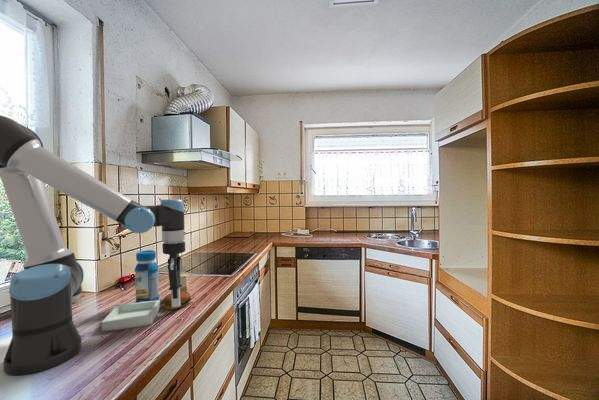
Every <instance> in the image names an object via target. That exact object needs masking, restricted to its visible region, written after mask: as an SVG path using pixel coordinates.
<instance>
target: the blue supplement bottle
mask: <svg viewBox="0 0 599 400" xmlns="http://www.w3.org/2000/svg"><path fill="white" fill-rule="evenodd" d="M135 256H136V257H135V260H136V262H137V264H136V265H135V268H134V272H135V275H134V283H135V303H138V302H147V301H155V300H160V294H159V293H160V291H159V290H160V288H159V287H160V286H159V276H160V272H159V271H158V270H159V265H158V263H157V262H156V261H155V260H156V259H157V252H156V250H154V249H149V250H141V251H138V252H136V253H135Z"/></svg>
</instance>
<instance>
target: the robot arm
mask: <svg viewBox="0 0 599 400" xmlns="http://www.w3.org/2000/svg"><path fill="white" fill-rule="evenodd" d="M0 180H1V183H2V185H3V186H2V187H3V188H4V191H5V194H6V197H7V200H8V203H9V206H10V209H11V212H12V214H13V217H14V221H15V223H16V226H17V229H18V232H19V235H20V238H21V240H22V244H23V246H24V250H25V252H26V255H27V259H26V261H25V262H24V263H23V265H22V266H23V269H22V270H20V271H18V272H17V273H15V274H14V275H13V276H12V277H11V278H10V282H9V288H8V293H9V296H10V297H9V298H10V299H9V300H10V315H11V316H10V317H11V329H12V331H11V332H12V334H11V335H12V337H11V340H10V342H9V345H8V348H7V351H6V354H5V356H4V359H3V363H2V364H3V373H5V374H6V375H8V376H9V375H10V376H24V375H29V374H34V373H38V372H41V371H44V370H45V371H46V370H48V369H51V368H54V367H56V366H58V365H61V364H62V363H64V362H67V361H68V360H70V359H72V358H73V357H74V356H77V354H78V353H79V352H81V350H82V346H83V344H82V343H83V342H82V337H81V334H80V333H79V331H78V329H77V327H76V325H75V322H74V321H73V303H72V296H73V295H74V293H75V292H76V291H77V290H78V289H79V287H80V286H82V284H83V281H84V277H85V276H84V275H85V274H84V273H85V272H84V268H83V267H82V265H81V264H80V263H79V262H78V261H77V259H76V255H75V253H74V251H73V250H72V249H69V248H67V247H66V245H65V242H64V240H63V236H62V233H61V229H60V227H59V224H58V221H57V217H56V214H55V211H54V207H53V205H52V202H51V199H50V198H51V197H50V196H49V192H48V190H47V189H48V188H47V186H46V185H48V186H49V187H52V188H53V189H55V190H57V191H59V192H61V193H63V194H65V195H67V196H68V197H70V198H72V199H74V200H76V201H78V202H80V203H81V204H83V205H85V206H86V207H89V208H91V209H93V210H95V211H96V212H98V213H100V214H102V215H104V216H105V217H107V218H110V219H111V220H113V221H114V222H115V221H116V222H117V223H118V224H120V225H121V228H123V229H127V230H128V231H130V232H132V233H135V234H144V233H147V232H149V231H150V230H151V229H152V228H154V227H155V228H156V227H161V241H162V254H163V255H169V256H168V259H167V270H168V279H169V280H168V281H169V287H168V291H170V293H171V300H172V307H179V306H180V287H182V284H181V285H180V283H181V281H180V273H181V266H182V265H181V261H182V257H181V256H180V254H182V253H185V251H186V242H185V240H186V237H185V235H187V231H185V209H184V207H185V206H184V201H183V200H182V199H180V198H177V199H176V198H172V199H161V200H160V204H159V205H158V204H157V205H142V204H140V203H138V202H137V201H135V200H133V199H132V198H130V197H128V196H127V195H125V194H123V193H121V192H119V191H118V190H116V189H114V188H113V187H112V186H110V185H108V184H106V183H105V182H103V181H101V180H99V179H97V178H96V177H94V176H93V175H92V174H89V173H87V172H86V171H84V170H82V169H80V168H79V167H77V166H76V165H73V164H72V163H70V162H68V161H67V160H65V159H64V158H61V156H58V155H56V154H55V153H53V152H51V151H50V150H48V149H46V147H45V146H44V143H43V141H42V139H41V138H40V136H39V135H38V134H37V133H36V132H35V131H34V130H32V129H31V128H29V127H27V126H24V125H23V124H20V123H18V122H17V121H15V120H14V119H12V118H9V117H7V116H5V115H1V114H0Z"/></svg>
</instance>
